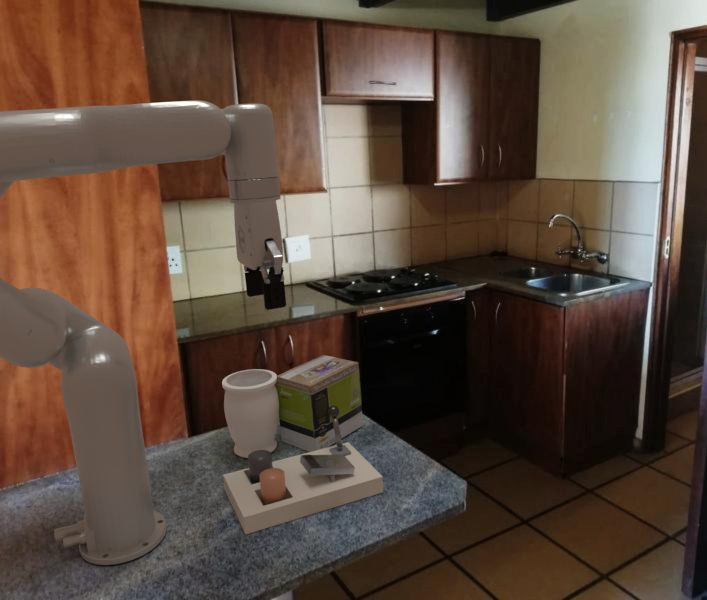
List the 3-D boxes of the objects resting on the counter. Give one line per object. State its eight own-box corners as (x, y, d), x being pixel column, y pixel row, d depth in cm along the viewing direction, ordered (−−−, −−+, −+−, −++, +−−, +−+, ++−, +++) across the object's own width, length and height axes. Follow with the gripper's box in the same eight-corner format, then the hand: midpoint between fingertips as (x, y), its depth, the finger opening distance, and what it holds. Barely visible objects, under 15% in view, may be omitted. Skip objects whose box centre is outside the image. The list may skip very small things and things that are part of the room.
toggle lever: (337, 451, 106) (329, 407, 106) (332, 450, 108) (324, 406, 108) (348, 448, 107) (340, 404, 107) (343, 447, 109) (335, 404, 109)
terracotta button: (265, 509, 93) (263, 483, 92) (258, 496, 97) (256, 472, 96) (289, 502, 95) (287, 477, 94) (281, 489, 98) (279, 465, 97)
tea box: (328, 415, 130) (325, 352, 127) (363, 427, 124) (361, 361, 120) (279, 442, 119) (274, 374, 116) (315, 456, 113) (311, 384, 109)
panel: (245, 534, 90) (243, 510, 89) (224, 490, 103) (222, 468, 102) (383, 492, 100) (382, 469, 99) (349, 456, 112) (348, 436, 111)
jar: (267, 431, 124) (261, 364, 120) (291, 449, 116) (286, 378, 112) (220, 447, 118) (212, 377, 114) (242, 467, 110) (235, 393, 106)
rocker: (310, 475, 96) (311, 467, 96) (299, 461, 100) (301, 454, 100) (353, 473, 100) (355, 466, 99) (341, 460, 104) (343, 453, 104)
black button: (253, 487, 99) (251, 463, 98) (247, 476, 103) (245, 453, 102) (276, 481, 101) (274, 457, 100) (269, 470, 104) (267, 447, 103)
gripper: (216, 191, 94) (229, 294, 98) (245, 196, 79) (258, 318, 83) (261, 187, 97) (271, 287, 101) (298, 191, 82) (308, 309, 86)
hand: (266, 301), depth 92 cm, fingers open, 9 cm apart
